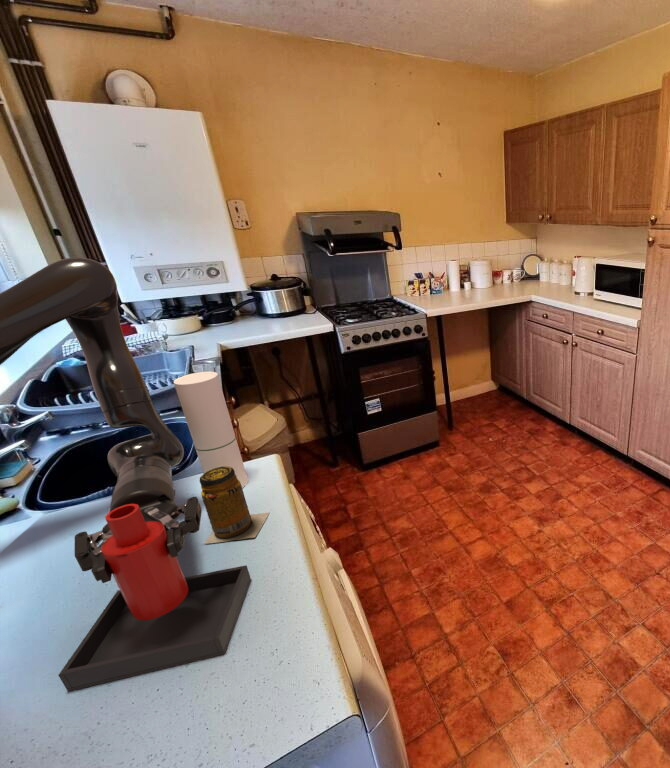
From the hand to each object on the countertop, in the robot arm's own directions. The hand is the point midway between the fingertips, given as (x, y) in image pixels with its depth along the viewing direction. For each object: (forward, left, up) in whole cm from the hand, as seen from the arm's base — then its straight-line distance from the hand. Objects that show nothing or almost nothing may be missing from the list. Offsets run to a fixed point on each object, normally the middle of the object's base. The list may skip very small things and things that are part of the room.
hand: (139, 563), depth 55 cm
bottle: (-1, +2, -8) cm, 9 cm away
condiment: (+2, +23, -14) cm, 27 cm away
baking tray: (-1, +2, -13) cm, 14 cm away
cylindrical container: (-4, +39, -14) cm, 42 cm away
